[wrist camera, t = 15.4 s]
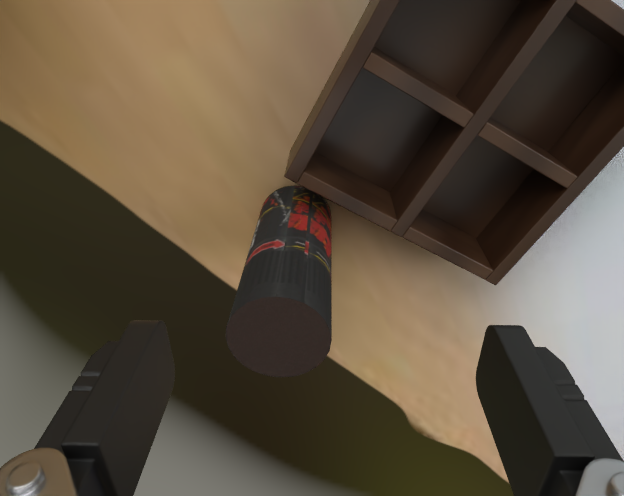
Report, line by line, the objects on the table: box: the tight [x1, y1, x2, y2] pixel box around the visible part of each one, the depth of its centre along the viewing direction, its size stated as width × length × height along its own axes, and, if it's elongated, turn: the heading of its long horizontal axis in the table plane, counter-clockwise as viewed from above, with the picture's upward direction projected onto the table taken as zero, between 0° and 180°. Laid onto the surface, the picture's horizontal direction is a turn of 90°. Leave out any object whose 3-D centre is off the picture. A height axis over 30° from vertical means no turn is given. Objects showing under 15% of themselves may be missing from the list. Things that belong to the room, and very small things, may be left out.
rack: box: [285, 0, 624, 285], centre depth 31 cm, size 18×18×5 cm
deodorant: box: [226, 186, 331, 377], centre depth 32 cm, size 6×6×15 cm
